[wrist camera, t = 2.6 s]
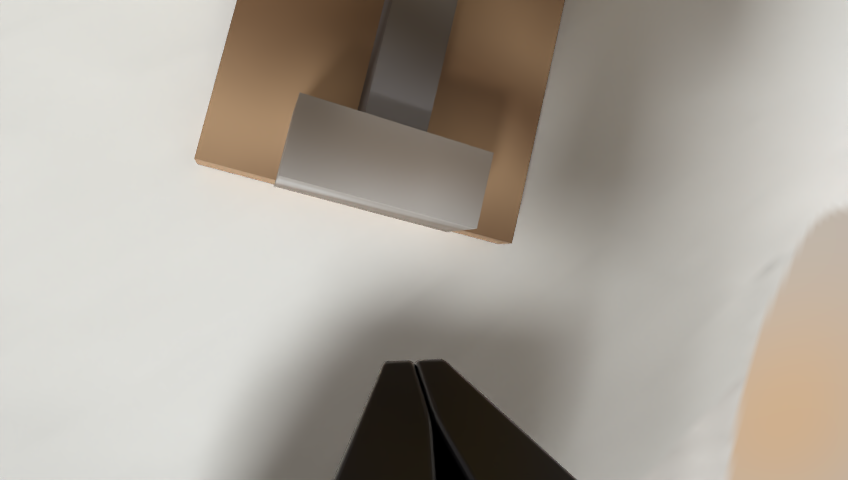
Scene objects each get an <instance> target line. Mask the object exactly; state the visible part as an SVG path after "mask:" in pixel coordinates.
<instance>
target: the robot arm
mask: <svg viewBox="0 0 848 480" xmlns="http://www.w3.org/2000/svg"><path fill="white" fill-rule="evenodd" d="M333 480H576V479H575V478H574V477H573V476H572V475H571V474H570V473H569V472H568V471H567V470H565V469H564V468H563V467H562V466H561V465H560V464H559V463H558V462H557V461H556V460H554V459H553V458H552V457H551V456H550V455H549V454H548V453H547V452H546V451H544V450H543V449H542V448H541V447H540V446H539V445H538V444H537V443H536V442H535V441H533V440H532V439H531V438H530V437H529V436H528V435H527V434H526V433H525V432H524V431H522V430H521V429H520V428H519V427H518V426H517V425H516V424H515V423H514V422H512V421H511V420H510V419H509V418H508V417H507V416H506V415H505V414H504V413H503V412H501V411H500V410H499V409H498V408H497V407H496V406H495V405H494V404H493V403H492V402H490V401H489V400H488V399H487V398H486V397H485V396H484V395H483V394H482V393H480V392H479V391H478V390H477V389H476V388H475V387H474V386H473V385H472V384H471V383H469V382H468V381H467V380H466V379H465V378H464V377H463V376H462V375H461V374H459V373H458V372H457V371H456V370H455V369H454V368H453V367H452V366H451V365H450V364H448V363H447V362H446V361H444V360H442V359H434V360H418V361H416V362H415V364H413V362H411V361H408V360H407V361H387V362H384V363H383V365H382V366H381V369H380V371H379V373H378V376H377V378H376V380H375V383H374V385H373V387H372V390H371V392H370V394H369V397H368V399H367V401H366V404H365V406H364V408H363V411H362V413H361V415H360V418H359V420H358V422H357V425H356V427H355V429H354V432H353V434H352V436H351V439H350V441H349V443H348V446H347V448H346V450H345V453H344V455H343V457H342V460H341V462H340V464H339V467H338V469H337V471H336V474H335V476H334V478H333Z"/></svg>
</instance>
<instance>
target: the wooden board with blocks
mask: <svg viewBox="0 0 848 480" xmlns="http://www.w3.org/2000/svg"><path fill="white" fill-rule="evenodd" d="M564 2H565V0H237V2H236V6H235V10H234V13H233V17H232V21H231V24H230V28H229V32H228V36H227V39H226V43H225V47H224V50H223V54H222V58H221V62H220V65H219V69H218V73H217V76H216V80H215V84H214V88H213V91H212V95H211V99H210V102H209V106H208V110H207V113H206V117H205V121H204V125H203V128H202V132H201V136H200V139H199V143H198V147H197V151H196V154H195V158H194V159H195V160H196V162H197V164H200V165H203V166H207V167H211V168H215V169H218V170H222V171H226V172H230V173H234V174H237V175H241V176H245V177H249V178H252V179H256V180H260V181H264V182H267V183H271V184H274V186H275V187H279V188H283V189H287V190H290V191H294V192H298V193H302V194H306V195H309V196H313V197H317V198H321V199H324V200H328V201H332V202H336V203H340V204H343V205H347V206H351V207H355V208H358V209H362V210H366V211H370V212H374V213H377V214H381V215H385V216H389V217H392V218H396V219H400V220H404V221H408V222H411V223H415V224H419V225H423V226H426V227H430V228H434V229H438V230H442V231H445V232H451V231H452V232H456V233H459V234H463V235H467V236H471V237H474V238H478V239H482V240H486V241H489V242H493V243H497V244H509V243H512V240H513V236H514V231H515V227H516V222H517V217H518V213H519V208H520V204H521V199H522V194H523V190H524V185H525V181H526V176H527V171H528V167H529V162H530V158H531V153H532V149H533V144H534V139H535V135H536V130H537V126H538V121H539V116H540V112H541V107H542V103H543V98H544V93H545V89H546V84H547V80H548V75H549V71H550V66H551V61H552V57H553V52H554V48H555V43H556V38H557V34H558V29H559V25H560V20H561V15H562V11H563V6H564Z"/></svg>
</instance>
